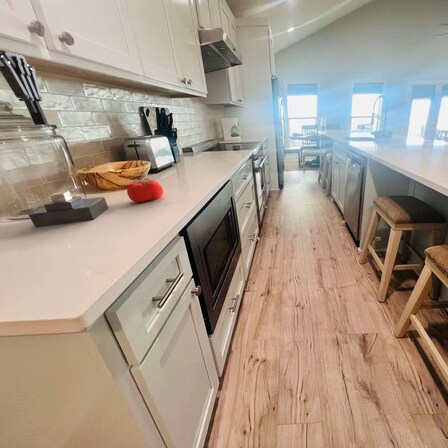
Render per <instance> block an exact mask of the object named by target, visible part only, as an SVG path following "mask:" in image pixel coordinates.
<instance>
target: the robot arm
mask: <svg viewBox="0 0 448 448" xmlns="http://www.w3.org/2000/svg"><path fill="white" fill-rule="evenodd" d="M22 55H23V54H22ZM22 55H18V54H14V53H11V52H7V51H0V73H1V74H2V76H3V77H4V80H5V81H6V83H7V84H8V86H9V88H10V89H11V91H12V93H13V94H14V96H15V97H16V99H17V100H18V101H19V102H24V103H25V106H26V109H27V111H28V112H29V115H30V117H31V119H32V122H33V124H34V125H35V126H46V125H49V122H48V120H47V117H46V115H45V113H44V111H43V108H42V106H41V102H43V100H44V99H43V96H42V92H41V89H40V85H39V82H38V79H37V75H36V69H35V67H34V65H29V64H28V63H27V59H26V58H25V57H24V55H23V56H22Z"/></svg>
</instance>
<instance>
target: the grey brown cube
mask: <svg viewBox="0 0 448 448" xmlns="http://www.w3.org/2000/svg"><path fill="white" fill-rule="evenodd" d="M72 197H73V196H72V193H71V192H70V191H60V192H59V191H58V192H55V193H52V194H49V198H50V200H51V201H52V202H53V203H57V202H66V201H69V200H71V199H73V198H72Z"/></svg>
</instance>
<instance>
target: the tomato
mask: <svg viewBox="0 0 448 448" xmlns="http://www.w3.org/2000/svg"><path fill="white" fill-rule="evenodd" d="M126 193H127V197H128V198H129V199H130V200H131V201H132V202H136V203H145V202H148V201H155V200H157V199H160V198H161V197H163V195H164V188H163V186H162V185H161V184H160V183H159V181H157V180H155V179H151V180H146V181H145V180H141V181H137V182H132V183H131V182H130V183H129V184H128V185H127V189H126Z"/></svg>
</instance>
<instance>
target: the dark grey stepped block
mask: <svg viewBox="0 0 448 448" xmlns="http://www.w3.org/2000/svg"><path fill="white" fill-rule="evenodd" d="M72 198H73V199H71V200H69V201H66V202H57V203H53V202H52V200H51V201H49V202H47V203H45V204H43V206H42V207H40V208H39V209H36V210H35V211H32V212H30V213H28V217H29V219H30V221H31V222H32V224H33V227H34V228H35V229H36V228H43V227H51V226H58V225H66V224H73V223H80V222H81V223H82V222H88V221H94V220H96V219H97V218H98V217H99V216H101V215H102V214H103V213H105V212H106V211H107V210H108V209H109V205H108V203H107V200H106V197H105V196H97V197H90V198H82V196H81V195H79V196H78V195H77V196H72Z"/></svg>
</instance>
